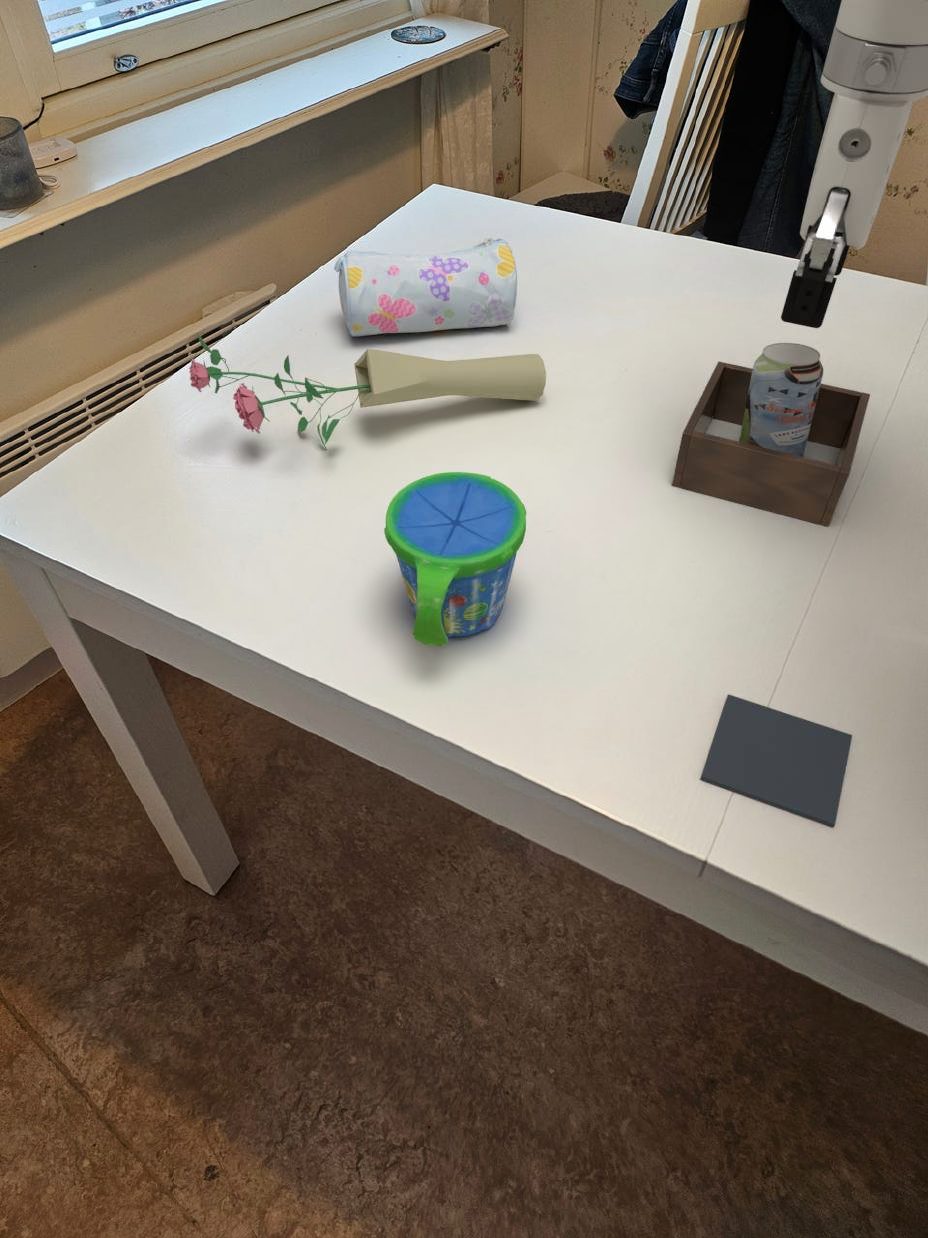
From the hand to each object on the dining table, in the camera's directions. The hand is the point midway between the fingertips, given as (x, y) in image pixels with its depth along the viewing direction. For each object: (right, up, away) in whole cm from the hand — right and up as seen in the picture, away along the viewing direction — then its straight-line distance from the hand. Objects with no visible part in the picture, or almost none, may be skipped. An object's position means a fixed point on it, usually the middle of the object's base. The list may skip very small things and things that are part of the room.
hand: (811, 296), depth 73 cm
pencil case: (-33, +8, +32) cm, 47 cm away
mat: (-7, -37, -11) cm, 39 cm away
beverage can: (0, -12, +12) cm, 17 cm away
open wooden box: (0, -12, +12) cm, 17 cm away
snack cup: (-30, -26, 0) cm, 40 cm away
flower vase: (-38, -8, +17) cm, 42 cm away
